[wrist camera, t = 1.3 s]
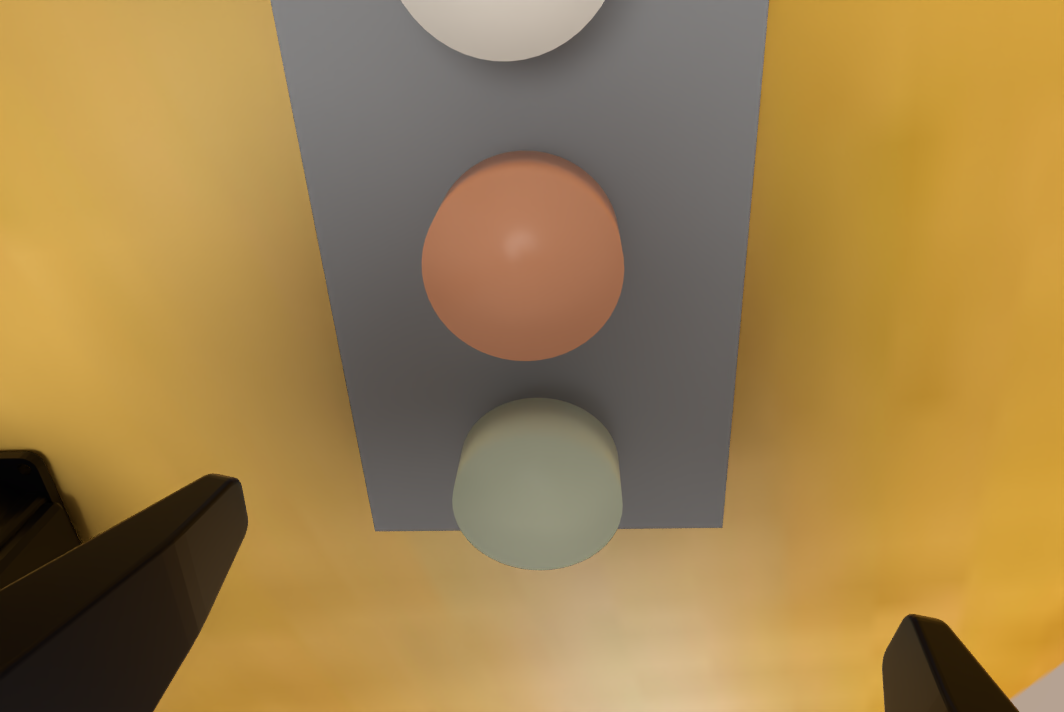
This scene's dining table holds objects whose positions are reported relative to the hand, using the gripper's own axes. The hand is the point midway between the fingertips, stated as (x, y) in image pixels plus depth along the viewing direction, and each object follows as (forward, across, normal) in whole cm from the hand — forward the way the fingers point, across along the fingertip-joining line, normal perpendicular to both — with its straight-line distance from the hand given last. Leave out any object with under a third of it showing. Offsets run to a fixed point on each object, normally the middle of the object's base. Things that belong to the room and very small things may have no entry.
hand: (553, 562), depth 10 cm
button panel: (+14, +3, 0) cm, 14 cm away
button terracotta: (+9, +2, 0) cm, 10 cm away
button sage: (+9, +1, +6) cm, 11 cm away
